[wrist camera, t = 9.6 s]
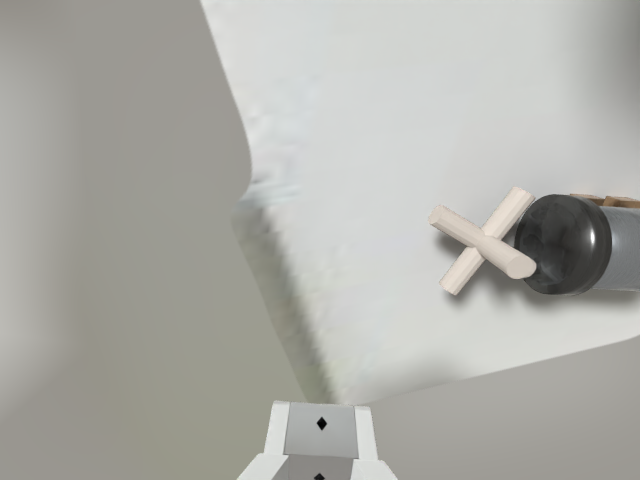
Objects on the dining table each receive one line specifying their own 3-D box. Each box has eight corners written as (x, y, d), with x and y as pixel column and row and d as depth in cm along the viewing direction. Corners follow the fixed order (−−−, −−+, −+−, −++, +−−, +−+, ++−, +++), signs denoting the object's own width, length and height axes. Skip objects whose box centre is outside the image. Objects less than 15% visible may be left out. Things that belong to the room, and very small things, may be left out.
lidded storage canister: (501, 263, 32) (564, 314, 24) (526, 183, 29) (608, 210, 21) (595, 269, 33) (692, 323, 24) (630, 190, 29) (755, 219, 21)
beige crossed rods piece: (528, 207, 30) (624, 241, 21) (464, 285, 33) (524, 347, 24) (448, 155, 29) (513, 167, 19) (388, 243, 31) (419, 291, 22)
